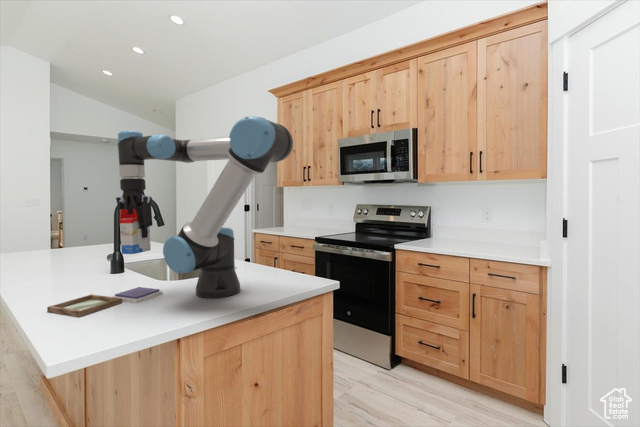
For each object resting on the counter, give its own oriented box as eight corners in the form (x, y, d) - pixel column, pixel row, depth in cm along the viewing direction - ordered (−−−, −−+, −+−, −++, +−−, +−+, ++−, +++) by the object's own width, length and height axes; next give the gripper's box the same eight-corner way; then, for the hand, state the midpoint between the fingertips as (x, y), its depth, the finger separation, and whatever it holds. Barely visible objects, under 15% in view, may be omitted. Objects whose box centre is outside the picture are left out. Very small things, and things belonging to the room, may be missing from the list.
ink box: (133, 254, 118) (131, 209, 117) (121, 254, 119) (118, 209, 118) (151, 250, 126) (149, 208, 125) (139, 250, 127) (137, 208, 126)
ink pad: (162, 293, 127) (162, 288, 126) (136, 302, 116) (136, 297, 116) (139, 291, 130) (138, 286, 130) (111, 299, 120) (111, 294, 120)
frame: (122, 302, 117) (122, 298, 116) (79, 317, 103) (79, 312, 103) (91, 298, 122) (91, 294, 121) (47, 311, 109) (47, 307, 108)
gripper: (162, 177, 121) (165, 246, 122) (122, 179, 128) (125, 244, 129) (144, 177, 114) (148, 250, 115) (102, 179, 121) (106, 248, 122)
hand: (136, 247), depth 122 cm, fingers closed on ink box, 5 cm apart
